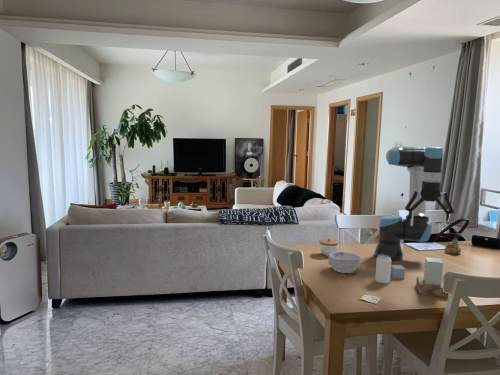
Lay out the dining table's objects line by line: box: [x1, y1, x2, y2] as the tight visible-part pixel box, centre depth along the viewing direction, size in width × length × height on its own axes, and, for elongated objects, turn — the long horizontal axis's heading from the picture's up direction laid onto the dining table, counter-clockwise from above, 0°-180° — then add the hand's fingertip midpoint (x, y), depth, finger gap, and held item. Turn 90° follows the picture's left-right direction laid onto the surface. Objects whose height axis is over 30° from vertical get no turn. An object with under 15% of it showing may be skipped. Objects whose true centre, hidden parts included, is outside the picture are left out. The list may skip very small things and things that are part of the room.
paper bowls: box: [328, 251, 361, 274], centre depth 185 cm, size 15×15×8 cm
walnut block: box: [415, 276, 450, 298], centre depth 161 cm, size 11×11×4 cm
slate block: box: [390, 264, 406, 280], centre depth 178 cm, size 5×5×5 cm
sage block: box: [423, 256, 444, 286], centre depth 160 cm, size 6×6×10 cm
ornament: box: [444, 236, 462, 255], centre depth 219 cm, size 8×6×10 cm
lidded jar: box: [318, 237, 339, 256], centre depth 212 cm, size 11×11×9 cm
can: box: [374, 255, 392, 285], centre depth 171 cm, size 6×6×12 cm
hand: (427, 226), depth 171 cm, fingers open, 13 cm apart
